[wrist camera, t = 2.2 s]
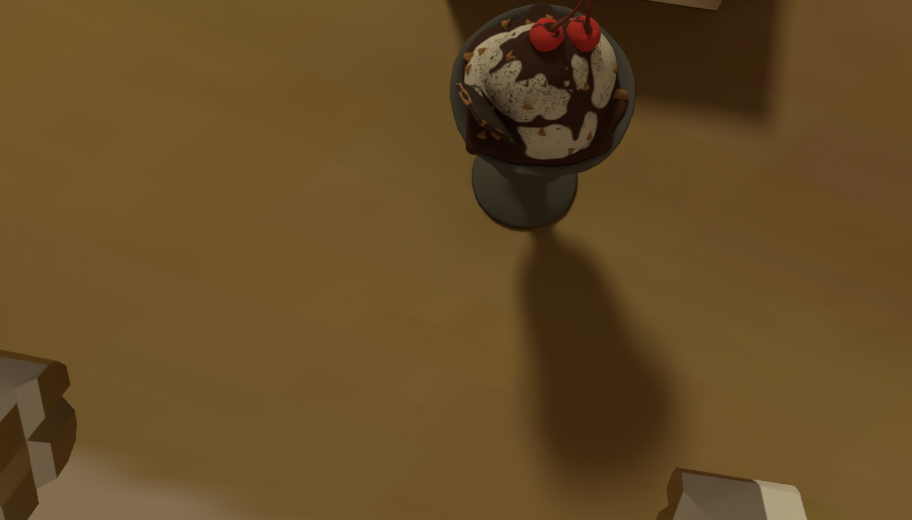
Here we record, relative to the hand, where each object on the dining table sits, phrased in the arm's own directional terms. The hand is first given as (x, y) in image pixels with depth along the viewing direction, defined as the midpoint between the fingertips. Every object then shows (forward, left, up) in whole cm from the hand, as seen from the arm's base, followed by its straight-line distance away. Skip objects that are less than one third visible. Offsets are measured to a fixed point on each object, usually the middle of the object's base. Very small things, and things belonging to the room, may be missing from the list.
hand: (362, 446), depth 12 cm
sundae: (+2, +13, -27) cm, 31 cm away
